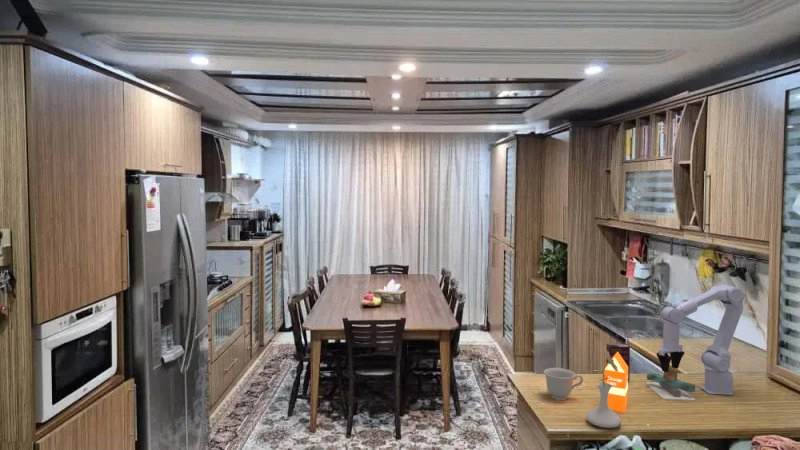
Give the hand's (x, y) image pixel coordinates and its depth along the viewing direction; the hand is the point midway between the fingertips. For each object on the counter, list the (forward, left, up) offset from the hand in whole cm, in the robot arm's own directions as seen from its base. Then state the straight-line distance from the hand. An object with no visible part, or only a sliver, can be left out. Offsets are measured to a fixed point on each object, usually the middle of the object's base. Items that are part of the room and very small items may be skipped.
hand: (670, 369), depth 205 cm
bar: (0, 0, -6) cm, 6 cm away
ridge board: (0, 0, -9) cm, 9 cm away
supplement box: (+17, -11, -9) cm, 22 cm away
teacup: (+45, +11, -9) cm, 47 cm away
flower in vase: (+36, +33, -9) cm, 50 cm away
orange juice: (+27, +17, -9) cm, 33 cm away
